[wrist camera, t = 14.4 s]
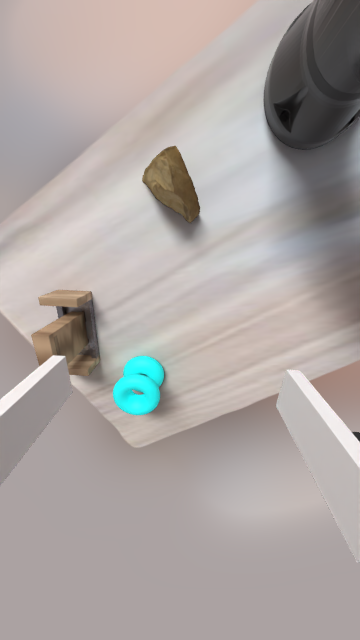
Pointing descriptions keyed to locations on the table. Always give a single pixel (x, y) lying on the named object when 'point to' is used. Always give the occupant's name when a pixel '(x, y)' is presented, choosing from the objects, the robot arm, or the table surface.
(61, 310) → the track
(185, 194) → the rock
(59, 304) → the frame posts
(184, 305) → the table surface
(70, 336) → the door panel
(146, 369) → the donuts
